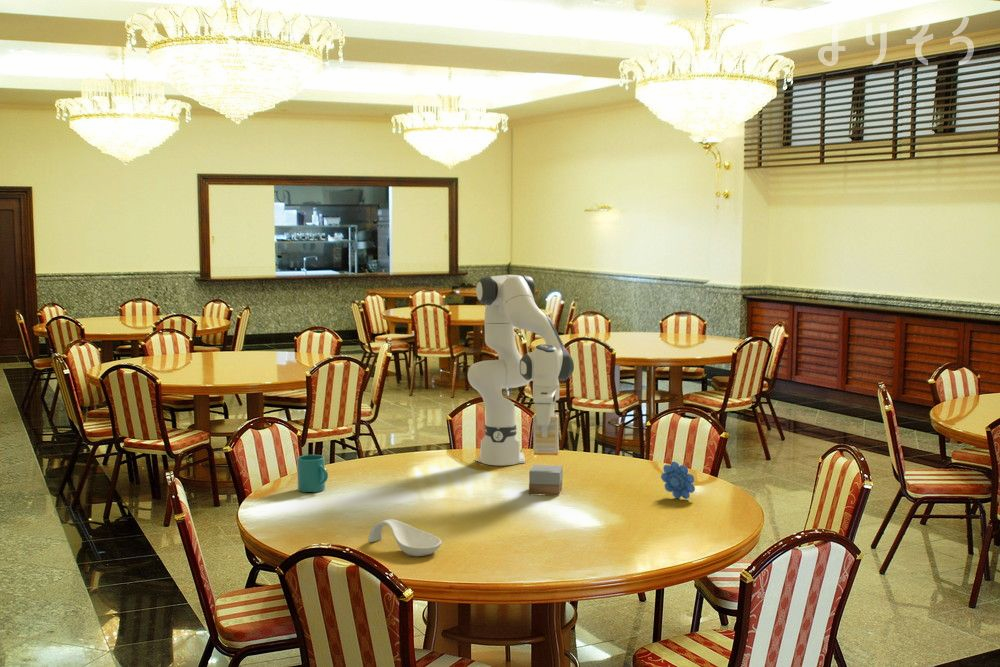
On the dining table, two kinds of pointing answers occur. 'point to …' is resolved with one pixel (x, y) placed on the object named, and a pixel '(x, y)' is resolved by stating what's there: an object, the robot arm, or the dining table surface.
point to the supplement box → (546, 438)
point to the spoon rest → (407, 538)
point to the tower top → (546, 474)
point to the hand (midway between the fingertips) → (545, 435)
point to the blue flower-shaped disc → (678, 480)
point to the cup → (311, 473)
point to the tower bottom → (545, 489)
